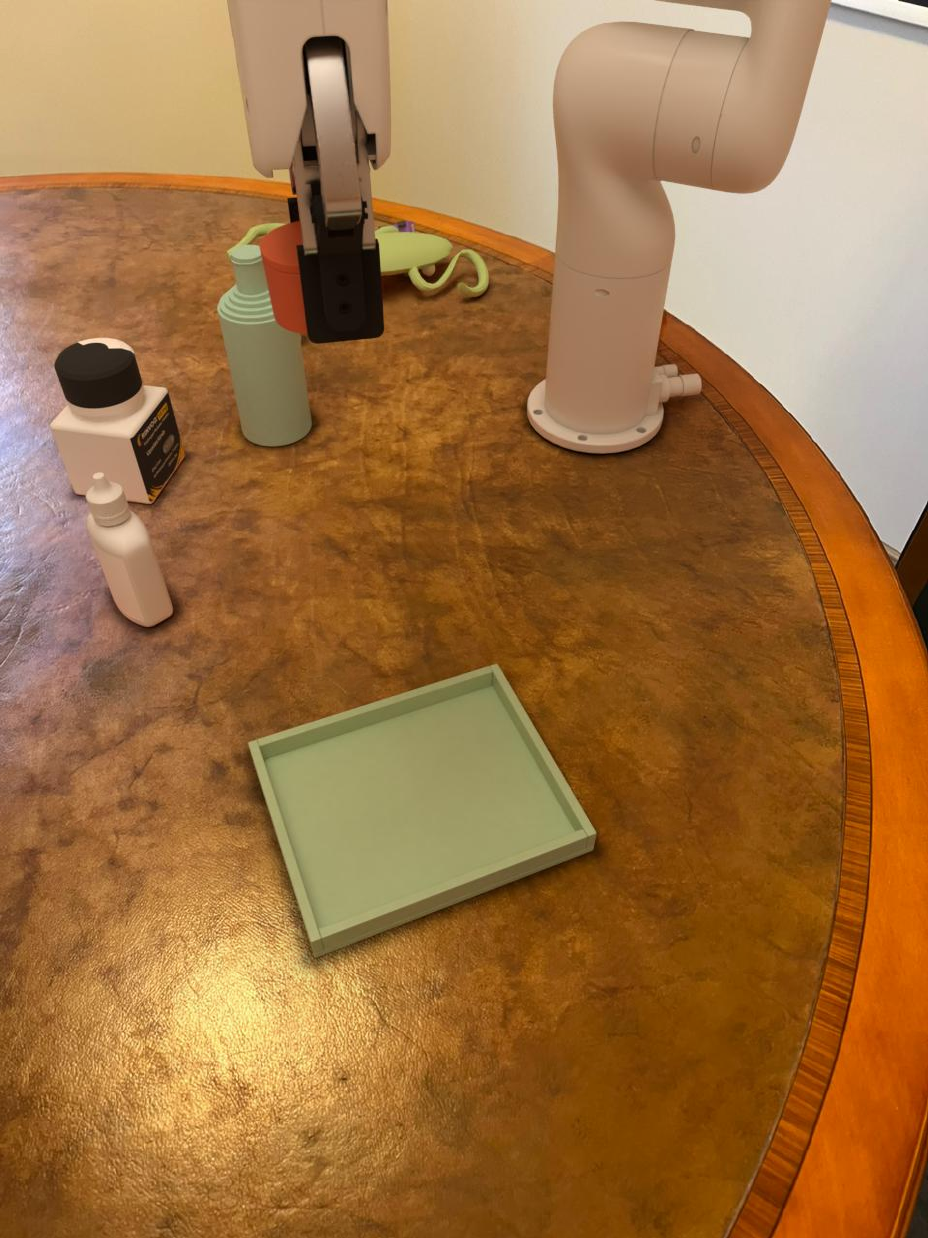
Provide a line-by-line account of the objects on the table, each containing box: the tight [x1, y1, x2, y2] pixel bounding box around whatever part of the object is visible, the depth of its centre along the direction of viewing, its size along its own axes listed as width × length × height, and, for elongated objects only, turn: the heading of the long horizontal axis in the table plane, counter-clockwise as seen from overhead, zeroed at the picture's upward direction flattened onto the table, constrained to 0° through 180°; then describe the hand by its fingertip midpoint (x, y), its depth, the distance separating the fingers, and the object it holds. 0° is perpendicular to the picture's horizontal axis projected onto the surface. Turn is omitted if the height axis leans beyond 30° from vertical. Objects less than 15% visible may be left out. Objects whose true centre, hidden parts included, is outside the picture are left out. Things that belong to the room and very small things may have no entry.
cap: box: [259, 221, 308, 335], centre depth 40 cm, size 4×4×3 cm
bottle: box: [216, 244, 313, 447], centre depth 80 cm, size 6×6×16 cm
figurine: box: [225, 220, 490, 342], centre depth 103 cm, size 18×27×6 cm
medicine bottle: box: [49, 337, 186, 505], centre depth 76 cm, size 7×7×12 cm
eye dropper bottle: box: [85, 473, 174, 628], centre depth 65 cm, size 4×6×12 cm
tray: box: [247, 663, 597, 959], centre depth 57 cm, size 17×14×2 cm
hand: (339, 306), depth 41 cm, fingers closed on cap, 4 cm apart
